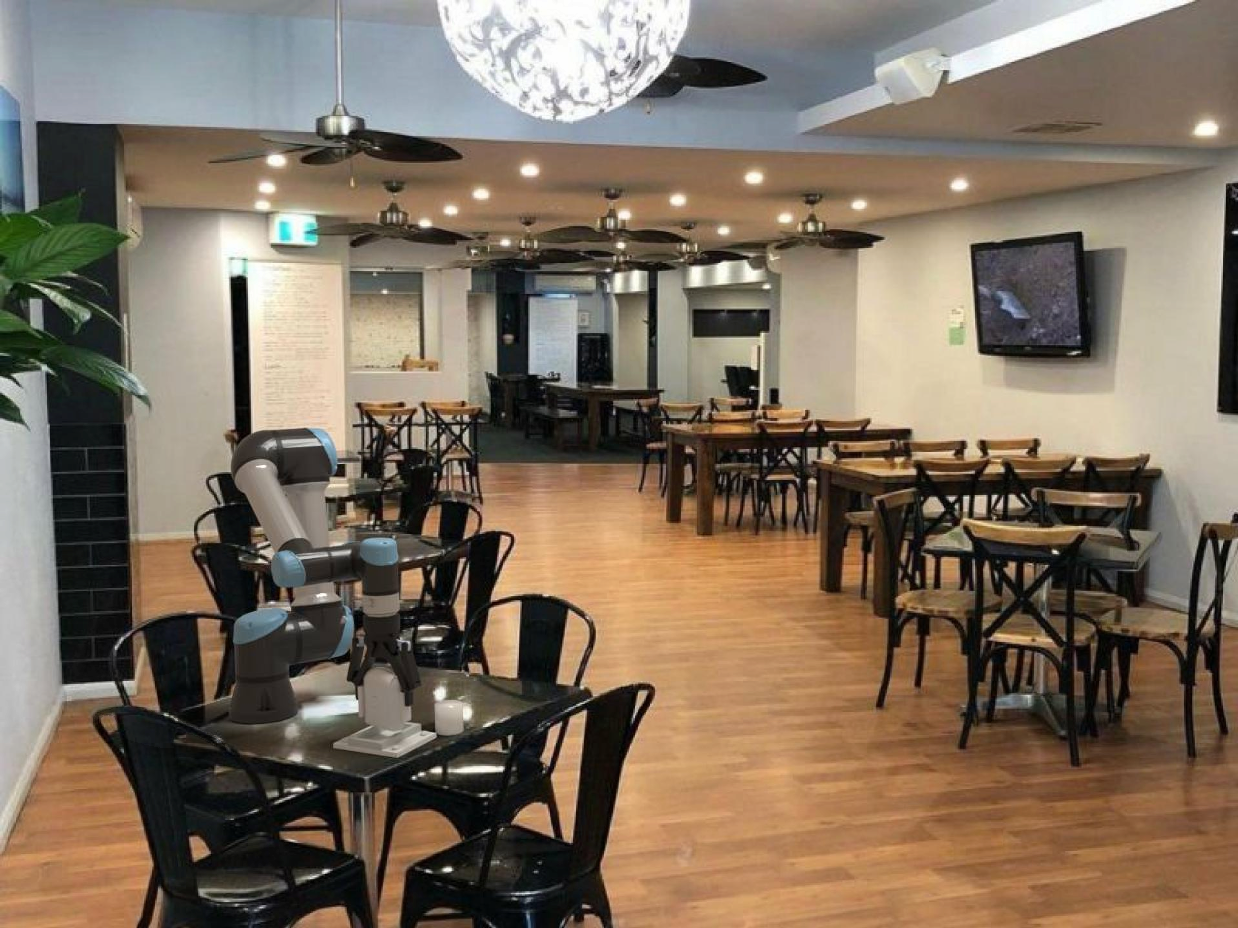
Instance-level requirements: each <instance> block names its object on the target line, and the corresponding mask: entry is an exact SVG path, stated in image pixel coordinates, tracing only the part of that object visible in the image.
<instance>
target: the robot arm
mask: <svg viewBox="0 0 1238 928" xmlns="http://www.w3.org/2000/svg"><path fill="white" fill-rule="evenodd" d="M338 461H339V460H338V453H337V449H336V446H335V443H334V441H333V438H332V437H331V436H330V434H329V433H328V431H326V430H324V429H322V428H318V427H316V428H314V427H313V428H312V427H303V428H302V427H299V428H298V427H297V428H283V429H261V430H257V431H254V432H252V433H250V434H249V435H247V436H245V437H244V438H243V439H242V440H241V441H240V442H239V443H238V444H237V446H236V447H235V449H234V452H233V454H232V457H231V461H230V473H231V474H230V475H231V478H232V480H233V482H234V485H235V486H236V488H237V489H238V491H240V492H241V493H244V494H245V496H246V498H247V499H248V502H249V504H250V506H251V509H252V510H253V513H254V514H255V516H256V518H257V520H258V522H259V524H260V526H261V528H262V530H263V532H264V534H265V536H266V538H267V540H268V543H269V544H270V546H271V548H272V551H273V553H274V554H273V556H272V557H271V561H270V562H271V563H270V565H271V566H270V572H271V574H272V579H273V582H274V583H275V585H276V586H277V587H280V588H284V589H285V588H295V593H296V594H295V595H296V597H295V599H294V600H293V601H292V602H291V604H290V610H291V611H290V613H288V612H287V611H286V609H285V608H282V607H271V608H262V609H258V610H254V611H251V612H248V613H245V614H242V616H240V617H239V618H237V619H236V620H235V621H234V625H233V638H232V642H233V646H234V647H233V649H234V670H235V672H234V673H235V685H234V688H233V693H232V697H231V700H230V704H229V706H228V718H229V720H230V721H233V722H236V723H240V724H267V723H273V722H279V721H284V720H286V719H289V718H292V717H294V716H295V715H297V714H298V712H299V701H298V698H297V697H296V695H295V692H294V689H293V686H292V683H291V681H290V680H291V679H290V665H291V666H292V665H296V664H302V663H303V664H304V663H309V662H315V661H320V660H331V659H332V658H337V657H341V656H344V655H345V654H346V653H347V652H348V651H349V649H350V647H351V645H352V649H351V654H350V659H349V664H348V665H349V666H348V670H347V675H346V682H347V683H351V684H353V685H354V688H355V689H354V690H355V693H354V694H355V699H356V701H358V702H357V703H358V704H357V706H358V718H363V717H364V718H365V710H364V675H365V674H366V672H367V671H368V670H369V669H371V668H372V667H373V666H374V663H375V662H376V660H377V659H378V658H381V659H384V660H386V662H387V664H390V667H391V670H392V671H394V673H395V675H396V676H397V679H398V681H399V683H400V685H401V687H402V689H403V690H402V691H400V721H401V723H405V722H409V721H411V720H412V707H411V706H413V705H414V690H415V689H417V688H420V687H422V681H421V677H420V674H419V669H418V666H417V662H416V659H415V654H414V651H413V649H414V642H413V640H411V639H409V640H402V639H401V638H400V634H399V633H400V631H401V615H400V614H399V611H401V610H400V609H401V607H400V606H401V605H400V591H399V590H400V587H399V586H400V585H399V553H398V546H397V541H396V540H395V539H393V538H390V537H371V538H366V539H364V540H362V541H346V542H344V543H343V544H339V545H331V544H330V536H329V534H330V533H329V526H328V525H329V524H328V523H329V522H328V515H327V513H328V512H327V504H326V495H325V493H326V489H327V488H328V487H329V485H330V484H331V477H332V476H334V475H336V473H337V470H338V466H337V465H338ZM352 580H359V581H361V593H362V594H361V597H362V600H361V601H362V612H363V613H364V615H363V616H362V627H363V628H362V630H363V633H364V636H363V635H362V634H359V635H357V636H354V631H355V623H354V617H353V615H352V613H353V612H352V611H351V609H350V608H349V607H348V606H347V605H344V604H343V599H342V598H341V597H340V596H339V595H338V594H336V592H335V586H334V585H335V582H336V583H337V582H343V581H344V582H345V581H352ZM365 647H366V648H367V649H366V652H365V653H364V651H365ZM363 655H364V656H363Z"/></svg>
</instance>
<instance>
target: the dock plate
mask: <svg viewBox="0 0 1238 928" xmlns="http://www.w3.org/2000/svg"><path fill="white" fill-rule="evenodd" d="M436 738H437V733H436V732H432V731H428V730H422V724H421V723H418V722H411V721H410V722H409V721H407V722H405V727H403V729H402V730H399V731H394V732H393V731H388V730H385V729H381V728H378V727H375V726H372V725H370V726H367V727H365V728H363V729H361V730H358V731H357V732H354V733H352V734H351V735H347V736H346V737H342V738H341V739H340V740H337V741H335V742H333V746H332V747H333V749H337V750H345V751H349V752H350V751H351V752H355V753H356V752H357V753H363V754H369V755H375V756H382V757H390V758H399V757H402V756H404V755H406V754H408V753H409V752H412V751H413V750H416V749H418V748H419V747H421V746H424V745H425V744H427V743H429V742H431V741H432V740H435V739H436Z"/></svg>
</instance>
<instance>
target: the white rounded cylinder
mask: <svg viewBox="0 0 1238 928" xmlns="http://www.w3.org/2000/svg"><path fill="white" fill-rule="evenodd" d="M463 705H464V703H463V701H462V700H459V699H458V700H457V699H446V700H440V701H437V702H435V703H434V726H435V727H434V728H435V731H434V733H436V735H440V736H454V735H460V734H461V733H463V732H464V706H463Z"/></svg>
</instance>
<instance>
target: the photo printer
mask: <svg viewBox="0 0 1238 928" xmlns="http://www.w3.org/2000/svg"><path fill="white" fill-rule="evenodd" d="M402 690H403V689H402V687H401V685H400V683H399V681H398V679H397V676H396V675H395V673H394V671H393V669H390V668H387V667H384V666H383V667H382V666H377V667H373V668H371V669H369V670H368V671H367V672H366V674H365V675H364V710H365V716H364V721H365V723H366V724H367V725H370V726H371V725H372V726H375V727H378V728H381V729H385V730H388V731H393V732H394V731H399V730H402V729H403V727H405V723H401V721H400V691H402Z"/></svg>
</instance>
